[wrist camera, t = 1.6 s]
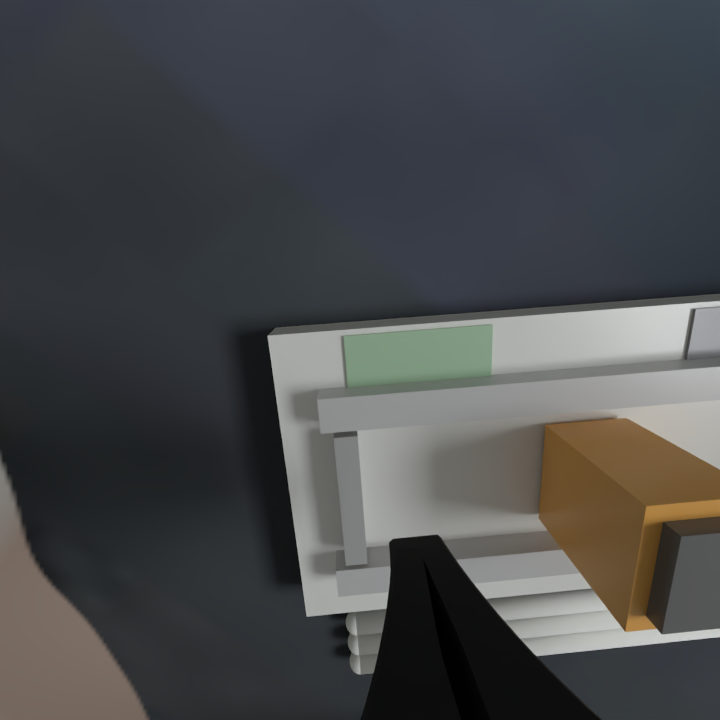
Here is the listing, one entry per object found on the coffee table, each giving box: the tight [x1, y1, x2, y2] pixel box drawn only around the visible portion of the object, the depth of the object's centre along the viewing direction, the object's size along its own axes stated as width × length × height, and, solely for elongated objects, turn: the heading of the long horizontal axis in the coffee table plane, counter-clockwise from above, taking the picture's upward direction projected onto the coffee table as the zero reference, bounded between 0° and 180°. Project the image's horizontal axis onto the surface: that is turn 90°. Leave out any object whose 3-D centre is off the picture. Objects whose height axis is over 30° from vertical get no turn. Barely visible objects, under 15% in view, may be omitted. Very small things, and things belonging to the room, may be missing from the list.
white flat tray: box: [268, 294, 720, 617], centre depth 14 cm, size 12×22×2 cm, turn 94°
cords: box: [346, 588, 720, 674], centre depth 17 cm, size 19×3×1 cm, turn 94°
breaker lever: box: [539, 418, 720, 634], centre depth 11 cm, size 4×3×5 cm
